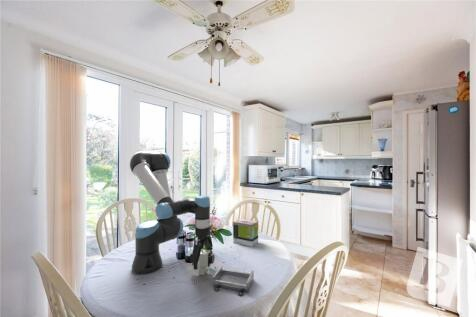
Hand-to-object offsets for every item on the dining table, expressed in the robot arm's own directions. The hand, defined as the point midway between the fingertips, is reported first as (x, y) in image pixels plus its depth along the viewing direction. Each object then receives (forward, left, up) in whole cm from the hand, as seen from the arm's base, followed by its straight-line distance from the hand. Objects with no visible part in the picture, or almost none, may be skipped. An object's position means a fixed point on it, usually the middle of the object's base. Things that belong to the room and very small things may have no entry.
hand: (202, 268), depth 110 cm
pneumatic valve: (0, 0, -2) cm, 2 cm away
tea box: (+11, +45, -2) cm, 46 cm away
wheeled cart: (+18, -6, -2) cm, 19 cm away
